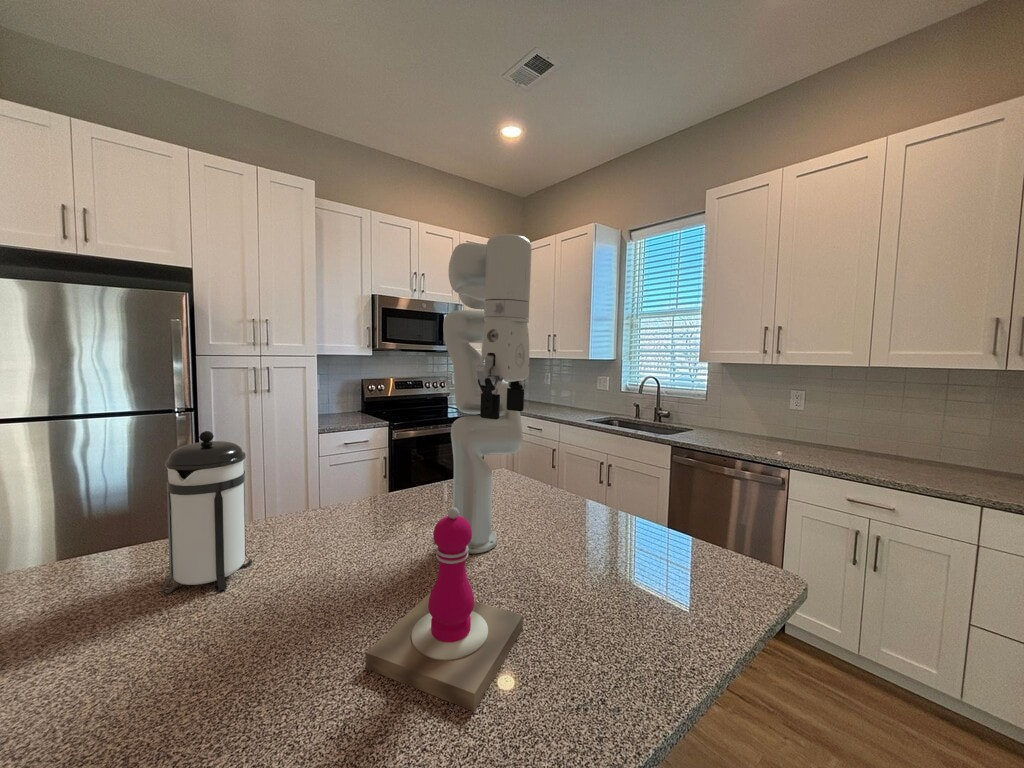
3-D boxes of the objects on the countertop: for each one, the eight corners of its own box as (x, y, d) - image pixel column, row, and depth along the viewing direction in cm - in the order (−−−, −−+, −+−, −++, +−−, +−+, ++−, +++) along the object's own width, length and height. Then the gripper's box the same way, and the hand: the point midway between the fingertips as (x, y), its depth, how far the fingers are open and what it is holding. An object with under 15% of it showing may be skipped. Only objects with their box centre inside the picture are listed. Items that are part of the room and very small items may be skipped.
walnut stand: (365, 668, 61) (365, 650, 61) (433, 602, 78) (433, 588, 78) (474, 711, 55) (474, 691, 54) (522, 629, 71) (523, 613, 71)
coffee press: (269, 576, 85) (267, 431, 83) (168, 610, 73) (163, 442, 71) (244, 547, 97) (242, 420, 94) (154, 572, 85) (149, 428, 83)
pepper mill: (442, 611, 71) (444, 497, 69) (480, 621, 68) (483, 503, 67) (419, 638, 64) (420, 512, 63) (461, 650, 62) (463, 520, 60)
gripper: (504, 308, 60) (500, 424, 62) (545, 317, 76) (541, 410, 77) (459, 308, 63) (457, 419, 65) (508, 317, 79) (505, 406, 80)
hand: (503, 414), depth 71 cm, fingers open, 9 cm apart
